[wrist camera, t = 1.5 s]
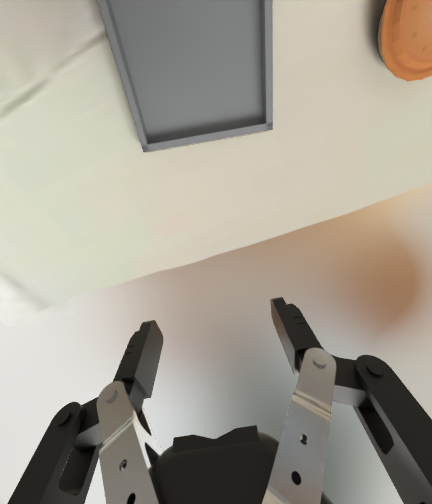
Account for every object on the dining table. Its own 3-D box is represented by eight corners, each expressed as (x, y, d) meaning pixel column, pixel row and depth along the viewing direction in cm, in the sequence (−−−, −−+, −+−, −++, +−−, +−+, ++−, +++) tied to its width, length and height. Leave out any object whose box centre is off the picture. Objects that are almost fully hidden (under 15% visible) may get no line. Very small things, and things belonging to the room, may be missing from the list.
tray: (267, 131, 33) (272, 129, 31) (148, 152, 34) (143, 152, 31) (263, -143, 21) (272, -186, 18) (73, -104, 21) (54, -140, 18)
